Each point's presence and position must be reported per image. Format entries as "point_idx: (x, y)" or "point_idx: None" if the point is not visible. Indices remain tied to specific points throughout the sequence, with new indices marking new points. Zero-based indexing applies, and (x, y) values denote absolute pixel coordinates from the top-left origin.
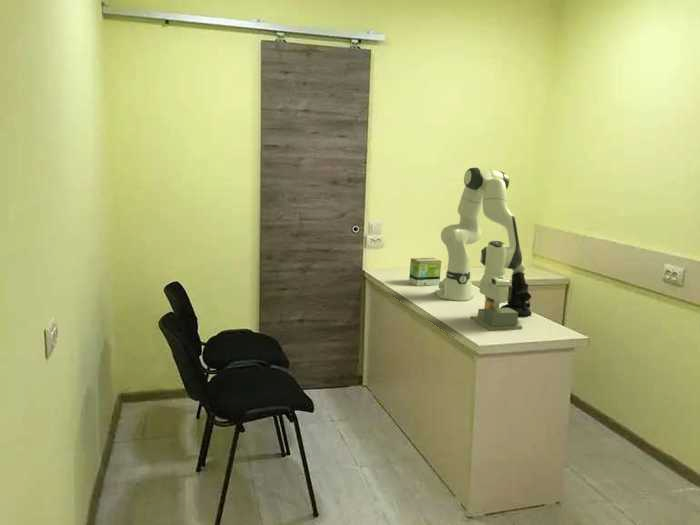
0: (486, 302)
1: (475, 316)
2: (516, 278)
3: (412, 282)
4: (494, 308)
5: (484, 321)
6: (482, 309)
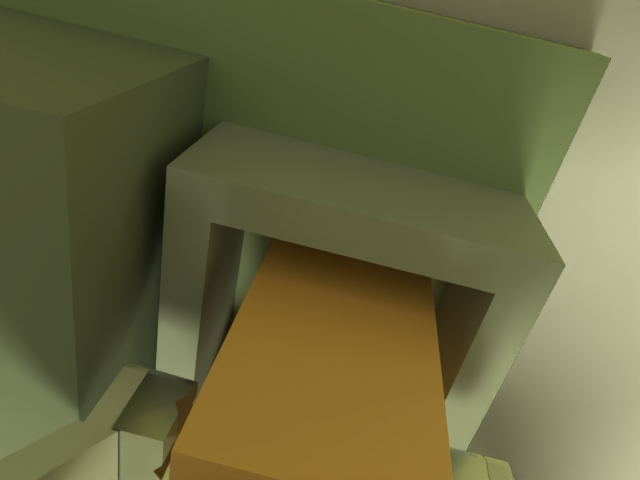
0: (355, 456)
1: (539, 149)
2: None
3: None
4: (52, 357)
5: (161, 48)
6: (483, 313)
